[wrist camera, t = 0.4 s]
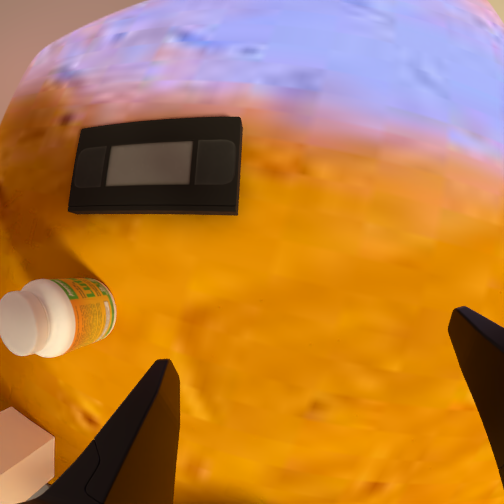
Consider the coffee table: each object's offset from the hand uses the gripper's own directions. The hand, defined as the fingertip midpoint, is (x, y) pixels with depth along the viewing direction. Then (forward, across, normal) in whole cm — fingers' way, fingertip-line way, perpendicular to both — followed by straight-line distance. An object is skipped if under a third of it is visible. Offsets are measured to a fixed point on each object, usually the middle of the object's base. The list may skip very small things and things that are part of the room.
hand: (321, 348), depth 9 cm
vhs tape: (+20, +9, -2) cm, 22 cm away
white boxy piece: (+5, +30, +19) cm, 36 cm away
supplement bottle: (+13, +16, +7) cm, 22 cm away
